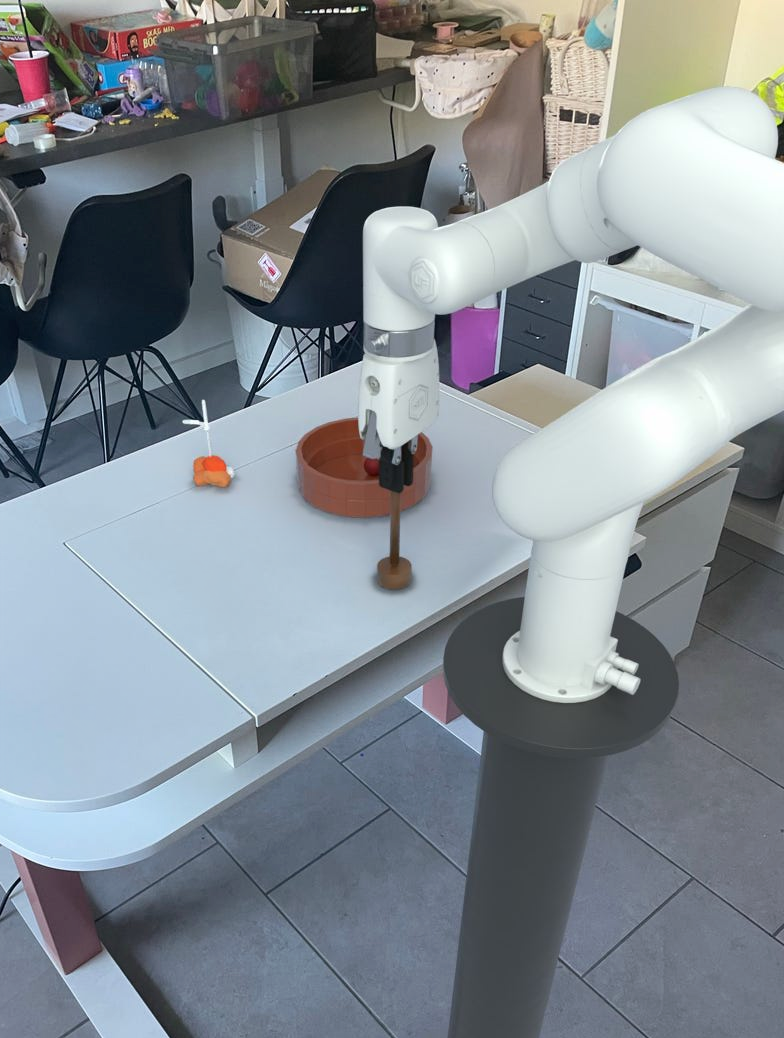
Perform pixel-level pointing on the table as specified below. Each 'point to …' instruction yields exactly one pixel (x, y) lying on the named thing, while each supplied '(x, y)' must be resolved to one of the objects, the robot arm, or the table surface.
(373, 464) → the red bead
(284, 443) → the table surface
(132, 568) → the table surface
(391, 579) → the wooden masher
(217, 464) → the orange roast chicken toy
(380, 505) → the bowl
